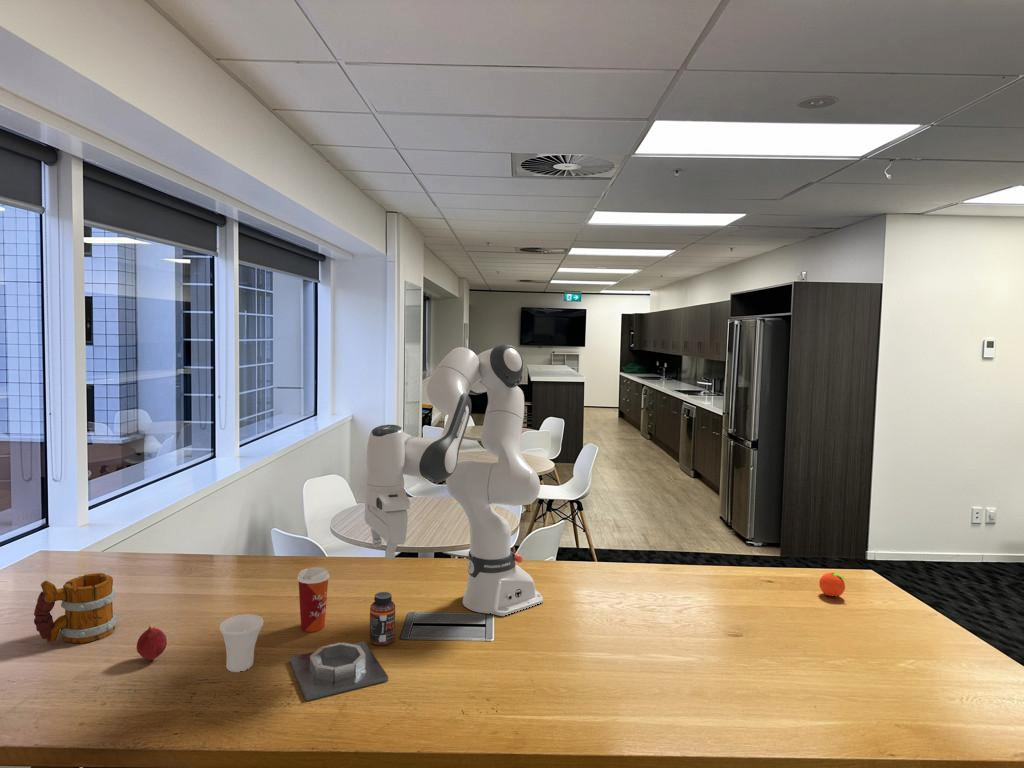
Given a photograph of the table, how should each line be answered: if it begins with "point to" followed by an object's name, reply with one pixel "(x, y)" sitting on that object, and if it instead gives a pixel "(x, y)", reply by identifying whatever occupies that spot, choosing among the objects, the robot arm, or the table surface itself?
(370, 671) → the ring collar
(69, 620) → the mug
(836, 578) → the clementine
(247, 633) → the cup
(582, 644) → the table surface
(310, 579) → the paper cup
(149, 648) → the onion
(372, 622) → the supplement bottle
